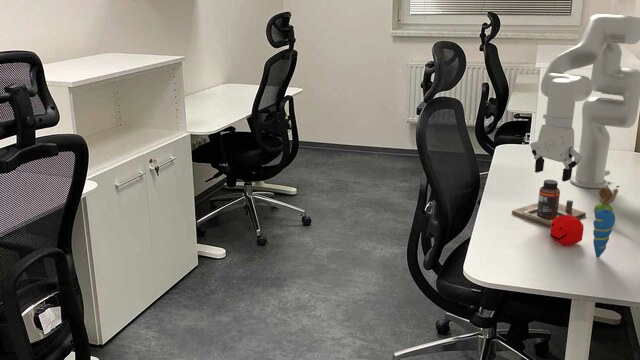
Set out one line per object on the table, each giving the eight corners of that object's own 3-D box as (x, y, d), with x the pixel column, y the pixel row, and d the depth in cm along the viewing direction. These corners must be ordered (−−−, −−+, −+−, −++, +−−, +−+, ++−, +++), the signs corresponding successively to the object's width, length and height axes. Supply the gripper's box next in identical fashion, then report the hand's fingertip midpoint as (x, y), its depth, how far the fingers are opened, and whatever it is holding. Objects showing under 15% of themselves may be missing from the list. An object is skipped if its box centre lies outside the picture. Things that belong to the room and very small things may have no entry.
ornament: (584, 253, 168) (592, 202, 163) (602, 253, 168) (610, 201, 163) (593, 262, 163) (602, 209, 158) (612, 261, 163) (621, 208, 158)
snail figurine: (606, 224, 188) (612, 187, 184) (588, 217, 193) (594, 181, 189) (618, 221, 190) (624, 184, 186) (600, 214, 195) (606, 178, 192)
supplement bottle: (555, 213, 193) (560, 179, 189) (558, 220, 187) (563, 185, 184) (535, 211, 194) (539, 177, 190) (537, 218, 188) (542, 183, 185)
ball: (543, 239, 176) (547, 215, 174) (564, 235, 180) (568, 210, 177) (564, 250, 170) (568, 225, 167) (586, 245, 173) (590, 220, 170)
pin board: (547, 203, 205) (549, 189, 203) (585, 216, 194) (587, 202, 192) (511, 213, 195) (513, 199, 194) (549, 228, 184) (551, 213, 183)
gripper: (526, 117, 186) (520, 170, 192) (577, 129, 172) (569, 186, 178) (542, 113, 190) (536, 166, 196) (593, 125, 176) (585, 181, 182)
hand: (552, 176), depth 187 cm, fingers open, 9 cm apart
